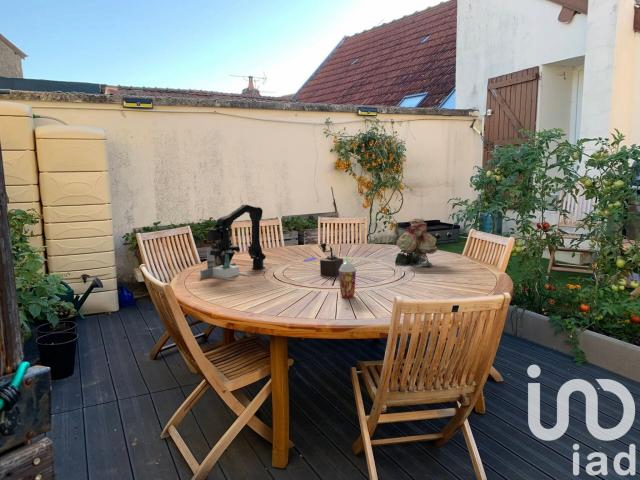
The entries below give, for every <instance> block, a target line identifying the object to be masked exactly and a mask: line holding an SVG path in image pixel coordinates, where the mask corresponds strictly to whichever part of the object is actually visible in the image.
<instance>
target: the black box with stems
mask: <svg viewBox="0 0 640 480" xmlns="http://www.w3.org/2000/svg"><path fill="white" fill-rule="evenodd" d="M319 245H320V248H321V249H322V253H330V255H329V256H327V257H326V258H322V259H320V260H319V263H320V264H319V267H320V270H319V271H320V273H319V274H320V276H323V277H324V276H325V277H331V278H335V277H339V269H340V266H341V265H342V264H343V263H344V258H340V257H337V256H336V254H334V255H333V247H332V246H331V247H330V250H328V249H327V243H326V242H323V243H321V244H319Z"/></svg>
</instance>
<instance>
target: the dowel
mask: <svg viewBox="0 0 640 480" xmlns="http://www.w3.org/2000/svg"><path fill="white" fill-rule="evenodd" d="M224 255H225V263H224V266H223V269H227V268H230V265H229V255H228V254H226V253H224Z"/></svg>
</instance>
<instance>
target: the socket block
mask: <svg viewBox="0 0 640 480" xmlns="http://www.w3.org/2000/svg"><path fill="white" fill-rule="evenodd" d="M239 273H240V266H237V265H236V266H232V265H230V268H227V269H223V266H219V267H215V268H213V275H215V276H221V277H226V278H232V277H236V276H240V275H239Z"/></svg>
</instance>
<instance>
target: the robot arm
mask: <svg viewBox="0 0 640 480" xmlns="http://www.w3.org/2000/svg"><path fill="white" fill-rule="evenodd" d="M245 213H247V214H248V215H249V218H250V220H251V244H250V245H248V247H247V249H248V250H247V253H248V255H249V256H250V259H252V267H251V269H252V270H264V269H266V267H265V266H264V260H266V258H267V257H266V255H265V253H263V248H262V246H261V244H260V222H261V220H262V218H263V208H262V207H260V206H252V205H249V204H242V205H240V206H239V207H238V208H237V209H236V210H234V211H232V212H230V213H229V214H227V215H224V216H221V217H219V218H218V219H217V221H216V224H215V226H214V228H213V229H212V228H211V229H208V231H207V234H206V238H207V240H208V241H209V242H214V241H215V242H216V241H218V242H217V243H215V242H214V243H211V244H210V245H211V247H212V249H214V250H211V251H210V255H214V256H218V257H219V259H220V261H221V263H222V265H223V266H224V263H225V254H228V255H229V264H230V263H232V262H231V261H232V260H233V257H234V255H235V254H236V252H240V250H241V249H240V246H239V245H238V246H237V245H231V243H232V240H231V239H230V232H232V231H233V229H231V226H232V225H233V223H234V221H236V220H237V219H238V218H240V217H241V216H243V215H244V214H245Z"/></svg>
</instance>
